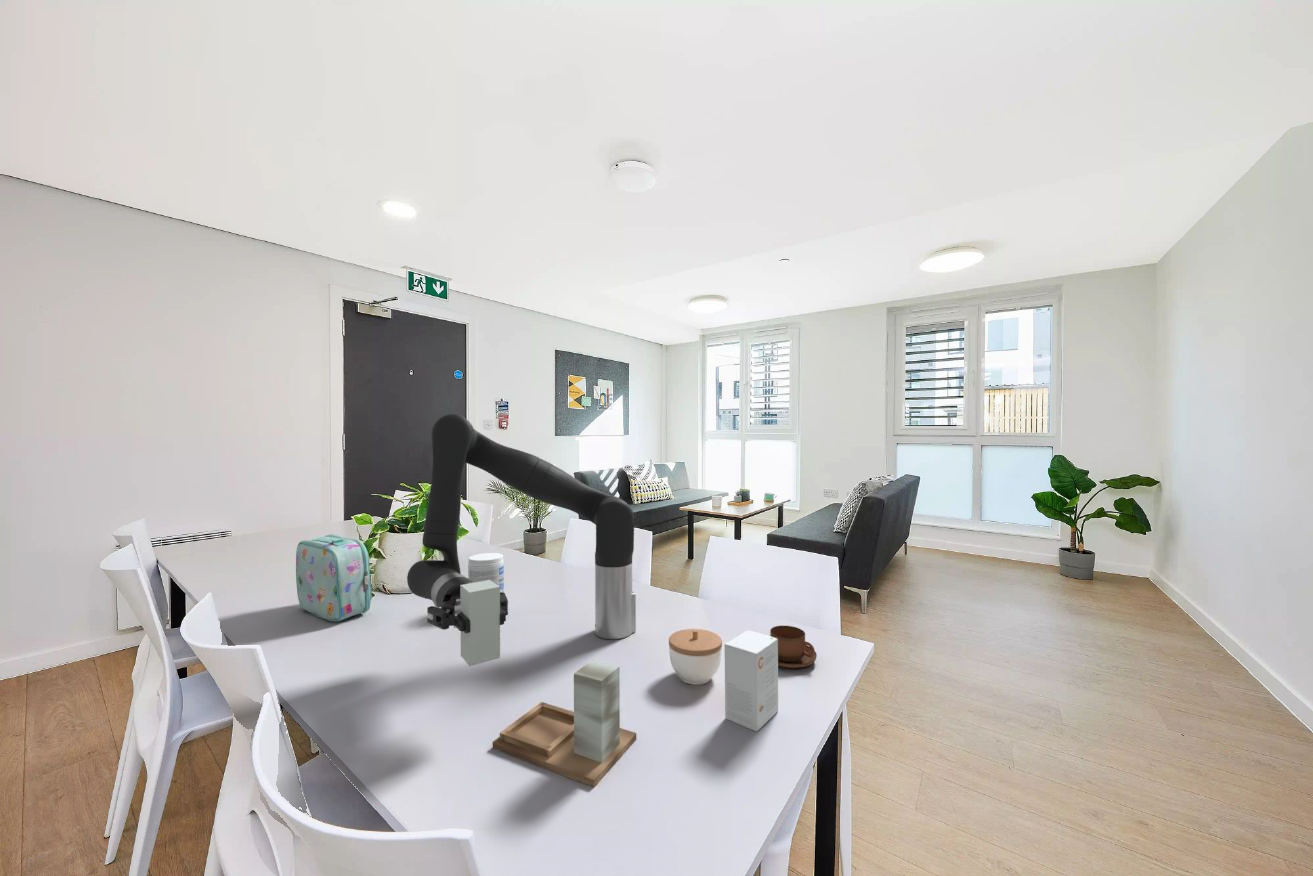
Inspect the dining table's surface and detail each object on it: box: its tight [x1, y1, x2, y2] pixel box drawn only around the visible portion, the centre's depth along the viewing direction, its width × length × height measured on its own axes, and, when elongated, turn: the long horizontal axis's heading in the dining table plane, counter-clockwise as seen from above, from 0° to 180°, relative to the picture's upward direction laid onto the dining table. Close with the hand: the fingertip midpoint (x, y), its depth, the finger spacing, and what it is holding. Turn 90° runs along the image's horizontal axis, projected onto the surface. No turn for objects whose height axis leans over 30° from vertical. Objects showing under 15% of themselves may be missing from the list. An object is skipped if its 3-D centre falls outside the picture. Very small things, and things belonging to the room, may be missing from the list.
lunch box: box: [295, 533, 373, 622], centre depth 136 cm, size 27×10×21 cm, turn 58°
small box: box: [724, 629, 779, 732], centre depth 85 cm, size 8×6×13 cm
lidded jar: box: [668, 628, 723, 686], centre depth 99 cm, size 11×11×9 cm
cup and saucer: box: [769, 625, 818, 669], centre depth 106 cm, size 12×12×6 cm
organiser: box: [492, 659, 637, 788], centre depth 77 cm, size 12×19×13 cm, turn 63°
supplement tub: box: [467, 552, 505, 593], centre depth 139 cm, size 10×10×15 cm
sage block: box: [460, 580, 501, 667], centre depth 83 cm, size 5×5×12 cm
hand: (485, 622), depth 81 cm, fingers closed on sage block, 5 cm apart
